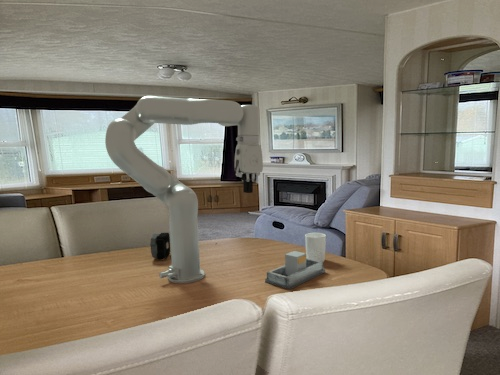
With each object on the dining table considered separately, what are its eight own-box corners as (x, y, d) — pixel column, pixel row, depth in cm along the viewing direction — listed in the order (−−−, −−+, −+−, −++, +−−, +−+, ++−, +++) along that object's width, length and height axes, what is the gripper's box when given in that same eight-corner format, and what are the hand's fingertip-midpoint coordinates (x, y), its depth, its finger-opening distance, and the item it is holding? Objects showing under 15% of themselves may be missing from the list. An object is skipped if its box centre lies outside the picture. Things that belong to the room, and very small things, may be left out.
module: (297, 277, 118) (297, 257, 117) (285, 274, 122) (285, 254, 121) (306, 273, 122) (306, 253, 121) (294, 270, 125) (294, 250, 124)
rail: (289, 289, 111) (289, 278, 111) (265, 281, 118) (264, 271, 118) (325, 272, 125) (325, 262, 125) (301, 266, 132) (301, 257, 132)
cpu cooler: (158, 254, 154) (156, 230, 153) (171, 253, 154) (170, 230, 153) (150, 261, 144) (149, 236, 143) (164, 261, 143) (163, 236, 142)
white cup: (325, 257, 142) (324, 232, 141) (327, 263, 134) (327, 237, 133) (304, 257, 143) (304, 232, 142) (305, 263, 135) (305, 237, 134)
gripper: (239, 140, 120) (239, 195, 122) (270, 141, 130) (270, 192, 132) (225, 140, 125) (225, 193, 127) (256, 141, 135) (256, 190, 137)
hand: (248, 192), depth 129 cm, fingers closed
